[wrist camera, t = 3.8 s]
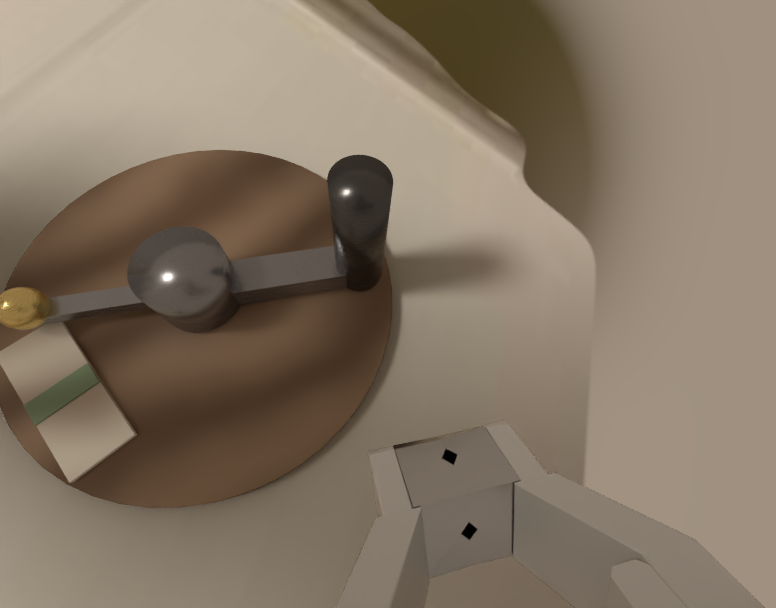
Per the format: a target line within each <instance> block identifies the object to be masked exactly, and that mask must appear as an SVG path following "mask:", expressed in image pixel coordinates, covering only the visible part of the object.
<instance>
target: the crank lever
mask: <svg viewBox="0 0 776 608" xmlns="http://www.w3.org/2000/svg"><path fill="white" fill-rule="evenodd" d="M327 183H328V193H329V202H330V212H331V222H332V232H333V242H334V246H328V247H321V248H314V249H307V250H300V251H293V252H286V253H279V254H272V255H265V256H258V257H251V258H244V259H237V260H229V258H228V256H227V255H226V253H225V252H224V250H223V248H222V247H221V245H220V243H219V242H218V241H217V240H216V239H215V238H214V237H213V236H212V235H211V234H210V233H208V232H206V231H204V230H201V229H199V228H195V227H189V226H179V227H172V228H168V229H164V230H162V231H159V232H157V233H155V234H153V235H151V236H150V237H148V238H147V239H146V240H145V241H143V242H142V243H141V244H140V245H139V246H138V247H137V249H136V250H135V251H134V253H133V255H132V256H131V259H130V261H129V264H128V269H127V279H128V283H129V286H126V287H119V288H112V289H105V290H98V291H92V292H85V293H78V294H71V295H64V296H57V297H51V298H48V297H47V296H46V295H45V294H44V293H42V292H40V291H39V290H36V289H34V288H30V287H16V288H11V289H8V290H6V291H4V292H3V293H1V294H0V323H1V324H3V325H4V326H6V327H9V328H12V329H17V330H28V329H32V328H35V327H38V326H40V325H45V324H51V323H58V322H64V321H70V320H77V319H83V318H90V317H96V316H103V315H109V314H116V313H122V312H128V311H135V310H141V309H148V308H151V309H152V310H154V311H155V312H156V313H158V314H159V315H160V316H161V317H163V318H164V319H165V320H166V321H168V322H169V323H170V324H172V325H173V326H174V327H176V328H178V329H180V330H183V331H186V332H192V333H199V332H206V331H210V330H213V329H216V328H218V327H220V326H222V325H223V324H225V323H226V322H227V321H229V320H230V319H231V318H232V317H233V316H234V314H235V313H236V312H237V310H238V309H239V307H240V305H243V304H249V303H256V302H262V301H268V300H274V299H281V298H287V297H293V296H300V295H306V294H312V293H318V292H325V291H331V290H337V289H344V288H348V289H350V290H353V291H366V290H369V289H371V288H373V287H374V286H375V285H376V284H377V283H378V282H379V280H380V278H381V274H382V267H383V259H384V251H385V243H386V235H387V227H388V219H389V211H390V203H391V196H392V188H393V178H392V174H391V172H390V170H389V169H388V167H387V166H386V165H385V164H384V163H382V162H381V161H380V160H378V159H376V158H373V157H370V156H366V155H352V156H348V157H345V158H343V159H341V160H339V161H338V162H336V163H335V164H334V165H333V166H332V168H331V169H330V171H329V174H328V178H327Z"/></svg>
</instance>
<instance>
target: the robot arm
mask: <svg viewBox="0 0 776 608" xmlns="http://www.w3.org/2000/svg"><path fill="white" fill-rule="evenodd" d="M369 460H370V467H371V473H372V480H373V486H374V493H375V499H376V504H377V510H378V516H379V518H375V520H374V522H373V525H372V527H371V529H370V531H369V534H368V536H367V538H366V541H365V543H364V545H363V547H362V550H361V552H360V554H359V556H358V559H357V561H356V563H355V566H354V568H353V570H352V572H351V575H350V577H349V579H348V581H347V584H346V586H345V588H344V591H343V593H342V595H341V597H340V600H339V602H338V604H337V606H336V608H424V606H425V601H426V596H427V591H428V587H429V579H430V578H433V577H436V576H439V575H442V574H446V573H449V572H452V571H455V570H458V569H461V568H464V567H468V566H471V565H475V564H479V563H483V562H487V561H491V560H495V559H499V558H503V557H507V556H511V555H513V558H514V559H516V560H517V561H518V562H519V563H521V564H522V565H523V566H524V567H525V568H527V569H528V570H529V571H530V572H532V573H533V574H534V575H535V576H536V577H538V578H539V579H540V580H541V581H543V582H544V583H545V584H546V585H548V586H549V587H550V588H551V589H552V590H554V591H555V592H556V593H557V594H559V595H560V596H561V597H562V598H563V599H565V600H566V601H567V602H568V603H570V604H571V605H572V606H573V607H574V608H765V607H764V606H763V605H761V604H760V602H759V601H758V600H757V599H755V598H754V597H753V596H752V595H751V594H750V593H749V592H748V591H747V590H746V589H745V588H744V587H743V586H742V585H741V584H740V583H739V582H738V581H737V580H736V579H735V578H734V577H733V576H732V575H731V574H730V573H729V572H728V571H727V570H726V569H725V568H724V567H723V566H722V565H721V564H720V563H719V562H718V561H716V559H715V558H714V557H713V556H712V555H710V553H709V552H708V551H707V550H706V549H705V548H703V547H702V546H701V545H700V544H699V543H698V542H697V541H696V540H695V539H693V538H691V537H689V536H687V535H685V534H683V533H681V532H679V531H677V530H674V529H672V528H670V527H668V526H666V525H664V524H662V523H660V522H658V521H656V520H653V519H651V518H649V517H647V516H645V515H643V514H641V513H639V512H636V511H634V510H633V509H630V508H628V507H626V506H624V505H622V504H620V503H618V502H616V501H614V500H611V499H609V498H607V497H605V496H603V495H601V494H599V493H597V492H595V491H593V490H591V489H588V488H586V487H584V486H582V485H580V484H578V483H576V482H574V481H572V480H570V479H568V478H565V477H563V476H561V475H559V474H557V473H552V474H548V473H547V472H546V471H545V469H544V468H543V467H542V466H541V464H540V463H539V462H538V460H537V459H536V458H535V457H534V455H533V454H532V453H531V451H530V450H529V449H528V448H527V446H526V445H525V444H524V443H523V441H522V440H521V439H520V437H519V436H518V435H517V434H516V432H515V431H514V430H513V428H512V427H511V426H510V425H509V423H508V422H506V421H504V420H502V421H498V422H494V423H490V424H486V425H482V426H481V427H476V428H471V429H467V430H463V431H459V432H455V433H450V434H446V435H442V436H438V437H433V438H428V439H423V440H418V441H413V442H408V443H403V444H399V445H394V446H393V447H392V446H391V447H386V448H381V449H376V450H372V451H369Z"/></svg>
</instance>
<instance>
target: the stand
mask: <svg viewBox="0 0 776 608" xmlns="http://www.w3.org/2000/svg"><path fill="white" fill-rule="evenodd" d="M179 226H189V227H195V228H199V229H201V230H204V231H206V232H208V233H210V234H211V235H212V236H213V237H214V238H215V239H216V240H217V241H218V242H219V243H220V245H221V247H222V248H223V250H224V252H225V253H226V255H227V256H228V258H229V260H237V259H244V258H251V257H258V256H265V255H272V254H279V253H286V252H293V251H300V250H307V249H314V248H321V247H328V246H334V242H333V232H332V222H331V212H330V202H329V193H328V183H327V181H326V180H325V179H323V178H322V177H320V176H319V175H317V174H315V173H313V172H311V171H309V170H307V169H305V168H303V167H301V166H299V165H296V164H294V163H291V162H288V161H286V160H283V159H280V158H276V157H272V156H268V155H264V154H259V153H252V152H245V151H231V150H211V151H196V152H189V153H183V154H176V155H172V156H168V157H164V158H160V159H156V160H153V161H150V162H147V163H144V164H141V165H138V166H136V167H133V168H130V169H128V170H126V171H124V172H122V173H120V174H117V175H115V176H113V177H111V178H109V179H107V180H106V181H104V182H102V183H101V184H99V185H97V186H95V187H94V188H92V189H90V190H89V191H87V192H86V193H85V194H83V195H82V196H80V197H79V198H78V199H76V200H75V201H74V202H72V203H71V204H70V205H68V206H67V207H66V208H65V209H64V210H63V211H62V212H61V213H59V214H58V215H57V216H56V217H55V218H54V219H53V220H52V221H51V222H50V223H49V224H48V225H47V226H46V227H45V228H44V229H43V231H42V232H41V233H40V234H39V235H38V236H37V237H36V238H35V239H34V241H33V242H32V244H31V245H30V246H29V248H28V249H27V251H26V252H25V253H24V255H23V256H22V258H21V259H20V261H19V263H18V264H17V266H16V268H15V270H14V272H13V273H12V275H11V277H10V279H9V281H8V283H7V286H6V288H5V291H6V290H8V289H11V288H16V287H30V288H34V289H36V290H39V291H40V292H42V293H44V294H45V295H46V296H47V297H48V298H51V297H57V296H64V295H71V294H78V293H85V292H92V291H98V290H105V289H112V288H119V287H126V286H129V283H128V279H127V269H128V264H129V261H130V259H131V256H132V255H133V253H134V251H135V250H136V249H137V247H138V246H139V245H140V244H141V243H142V242H143V241H145V240H146V239H147V238H148V237H150V236H151V235H153V234H155V233H157V232H159V231H162V230H164V229H168V228H172V227H179ZM391 315H392V288H391V282H390V276H389V270H388V266H387V263H386V259H385V256H384V259H383V267H382V274H381V278H380V280H379V282H378V283H377V284H376V285H375V286H374V287H373V288H371V289H369V290H366V291H353V290H350V289H348V288H344V289H337V290H331V291H325V292H318V293H312V294H306V295H300V296H293V297H287V298H281V299H274V300H268V301H262V302H256V303H249V304H243V305H240V307H239V309H238V310H237V312H236V313H235V314H234V316H233V317H232V318H231V319H230V320H229V321H227V322H226V323H225V324H223V325H222V326H220V327H218V328H216V329H213V330H210V331H206V332H199V333H192V332H186V331H183V330H180V329H178V328H176V327H174V326H173V325H172V324H170V323H169V322H168V321H166V320H165V319H164V318H163V317H161V316H160V315H159V314H158V313H156V312H155V311H154V310H152V309H151V308H148V309H141V310H135V311H128V312H122V313H116V314H109V315H103V316H96V317H90V318H83V319H77V320H70V321H64V322H58V323H51V324H45V325H40V326H38V327H35V328H32V329H28V330H17V329H12V328H9V327H6V326H4V325H3V324H1V323H0V407H1V409H2V412H3V414H4V416H5V418H6V420H7V423H8V425H9V427H10V429H11V430H12V431H13V433H14V434H15V436H16V437H17V439H18V440H19V442H20V443H21V445H22V446H23V447H24V449H25V450H26V451H27V452H28V453H29V454H30V455H31V456H32V457H33V458H34V459H35V460H36V461H37V462H38V463H39V464H40V465H41V466H42V467H43V468H45V469H46V470H47V471H49V472H50V473H52V474H53V475H55V476H56V477H57V478H59V479H60V480H62V481H63V482H65V483H66V484H68V485H70V486H72V487H75V488H77V489H79V490H81V491H83V492H85V493H87V494H89V495H91V496H95V497H98V498H102V499H105V500H109V501H112V502H116V503H119V504H126V505H134V506H141V507H149V508H160V507H186V506H192V505H198V504H205V503H211V502H216V501H220V500H223V499H227V498H230V497H234V496H237V495H240V494H244V493H247V492H249V491H252V490H254V489H256V488H258V487H261V486H263V485H265V484H268V483H270V482H272V481H274V480H276V479H278V478H280V477H281V476H283V475H285V474H286V473H288V472H290V471H291V470H293V469H295V468H296V467H298V466H299V465H301V464H302V463H304V462H305V461H306V460H307V459H309V458H310V457H311V456H313V455H314V454H315V453H316V452H318V451H319V450H320V449H321V448H323V447H324V446H325V445H326V444H327V443H328V442H329V441H330V440H331V439H332V438H333V437H334V436H335V435H336V434H337V433H338V432H339V431H340V430H341V429H342V428H343V427H344V425H345V424H346V423H347V421H348V420H349V419H350V417H351V416H352V415H353V414H354V412H355V411H356V410H357V408H358V407H359V406H360V404H361V402H362V401H363V399H364V397H365V396H366V394H367V392H368V390H369V389H370V387H371V385H372V384H373V381H374V379H375V376H376V374H377V372H378V369H379V367H380V365H381V362H382V359H383V356H384V352H385V348H386V344H387V341H388V337H389V331H390V323H391Z"/></svg>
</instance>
